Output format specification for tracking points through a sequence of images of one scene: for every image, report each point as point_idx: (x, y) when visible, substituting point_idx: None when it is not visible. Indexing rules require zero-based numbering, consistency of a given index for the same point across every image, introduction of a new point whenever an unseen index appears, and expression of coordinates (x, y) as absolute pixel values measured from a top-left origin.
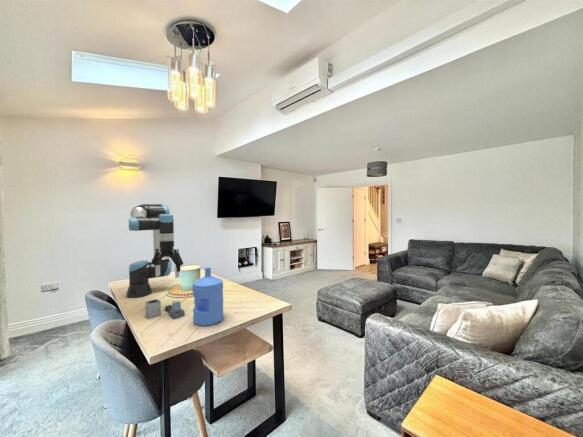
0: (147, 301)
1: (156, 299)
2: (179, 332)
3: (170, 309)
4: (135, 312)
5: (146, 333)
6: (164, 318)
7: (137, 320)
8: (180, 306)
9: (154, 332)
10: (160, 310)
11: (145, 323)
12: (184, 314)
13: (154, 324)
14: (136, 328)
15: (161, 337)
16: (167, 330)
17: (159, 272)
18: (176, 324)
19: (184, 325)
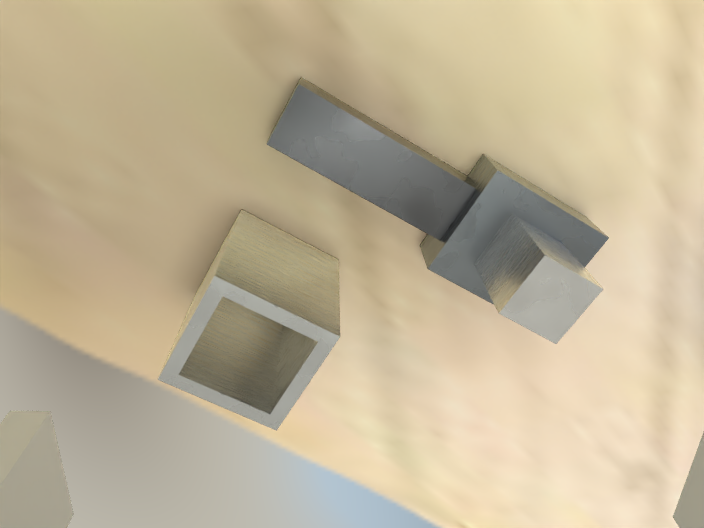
0: (173, 367)
1: (224, 291)
2: (687, 449)
3: (401, 206)
4: (12, 255)
5: (461, 501)
6: (421, 301)
7: None
8: (578, 261)
9: (507, 482)
10: (337, 285)
11: (329, 403)
12: (590, 222)
13: (417, 401)
14: (331, 469)
15: (597, 514)
16: (583, 446)
17: (6, 519)
18: (600, 366)
19: (676, 365)
